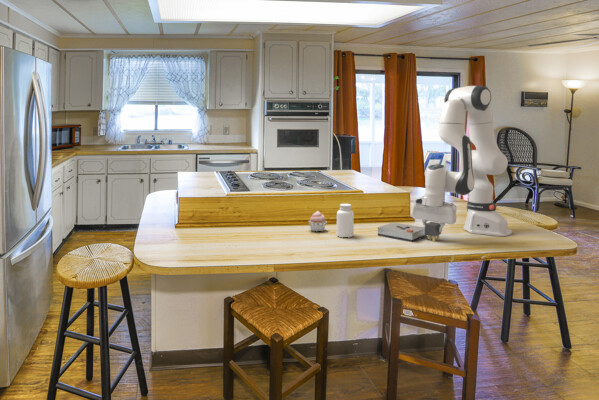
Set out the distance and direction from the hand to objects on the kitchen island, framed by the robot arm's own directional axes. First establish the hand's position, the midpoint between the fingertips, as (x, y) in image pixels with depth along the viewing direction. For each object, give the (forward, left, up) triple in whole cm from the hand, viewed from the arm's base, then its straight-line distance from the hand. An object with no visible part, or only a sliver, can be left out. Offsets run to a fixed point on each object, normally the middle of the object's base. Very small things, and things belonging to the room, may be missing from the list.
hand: (433, 230), depth 221 cm
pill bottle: (+34, +21, -4) cm, 40 cm away
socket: (+14, +3, -4) cm, 15 cm away
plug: (0, 0, -4) cm, 4 cm away
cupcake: (+50, +22, -4) cm, 55 cm away
